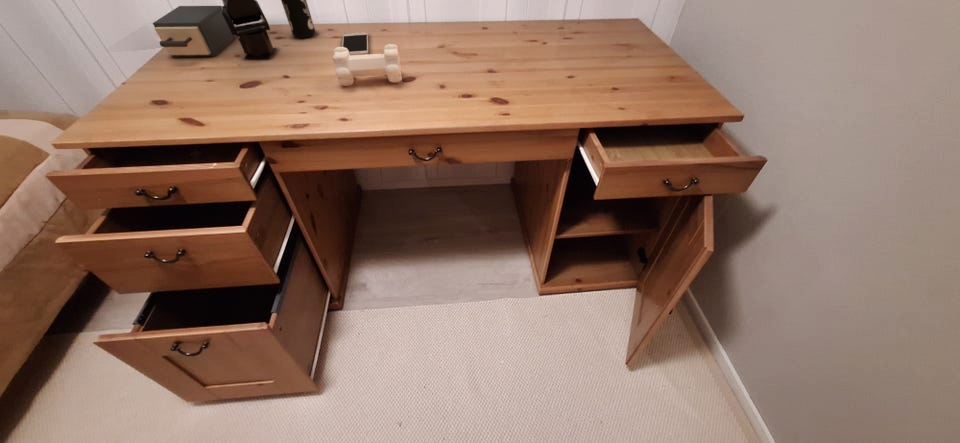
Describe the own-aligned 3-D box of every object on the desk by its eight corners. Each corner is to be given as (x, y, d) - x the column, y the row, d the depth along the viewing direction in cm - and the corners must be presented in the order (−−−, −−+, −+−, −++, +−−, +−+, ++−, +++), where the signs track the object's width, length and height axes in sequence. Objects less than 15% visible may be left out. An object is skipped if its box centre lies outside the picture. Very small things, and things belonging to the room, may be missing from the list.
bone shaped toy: (402, 71, 98) (397, 39, 92) (402, 87, 92) (397, 53, 86) (342, 75, 96) (333, 42, 90) (339, 91, 90) (329, 57, 84)
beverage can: (309, 40, 112) (295, -6, 103) (289, 38, 113) (273, -8, 104) (320, 31, 116) (307, -13, 107) (300, 30, 117) (286, -14, 108)
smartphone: (368, 35, 114) (367, 31, 114) (368, 55, 104) (367, 52, 103) (343, 36, 113) (343, 33, 113) (341, 58, 103) (341, 54, 102)
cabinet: (215, 56, 103) (198, 22, 97) (171, 56, 103) (152, 23, 97) (235, 37, 113) (221, 5, 107) (195, 37, 112) (179, 5, 106)
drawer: (202, 61, 99) (187, 34, 94) (161, 62, 99) (144, 34, 94) (228, 37, 111) (217, 11, 106) (192, 37, 110) (179, 12, 105)
